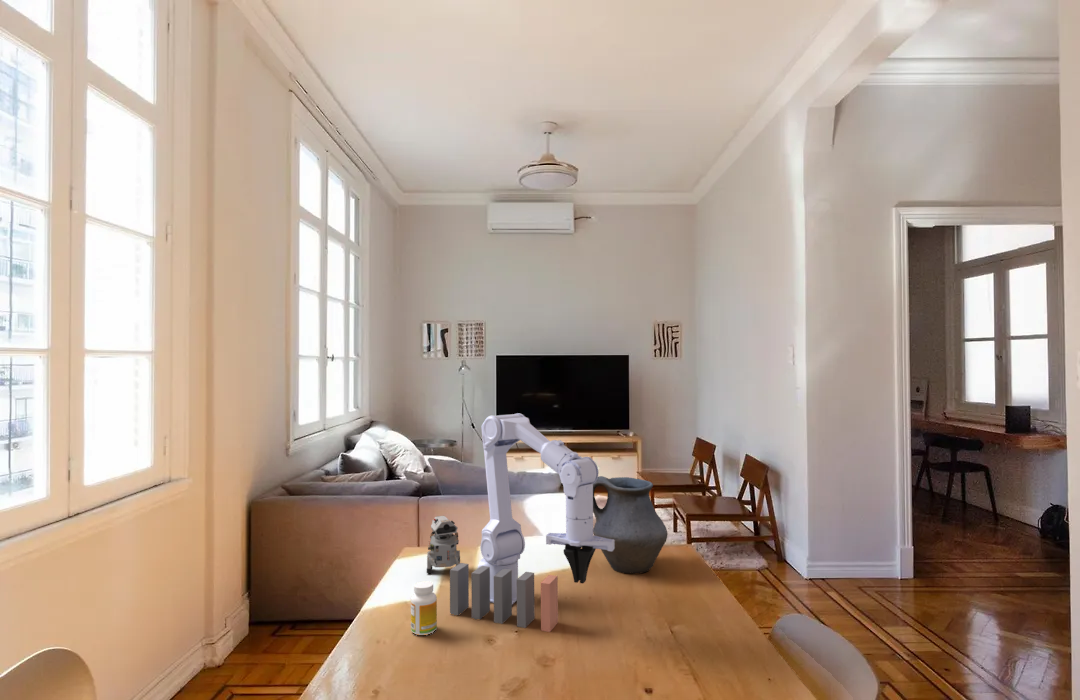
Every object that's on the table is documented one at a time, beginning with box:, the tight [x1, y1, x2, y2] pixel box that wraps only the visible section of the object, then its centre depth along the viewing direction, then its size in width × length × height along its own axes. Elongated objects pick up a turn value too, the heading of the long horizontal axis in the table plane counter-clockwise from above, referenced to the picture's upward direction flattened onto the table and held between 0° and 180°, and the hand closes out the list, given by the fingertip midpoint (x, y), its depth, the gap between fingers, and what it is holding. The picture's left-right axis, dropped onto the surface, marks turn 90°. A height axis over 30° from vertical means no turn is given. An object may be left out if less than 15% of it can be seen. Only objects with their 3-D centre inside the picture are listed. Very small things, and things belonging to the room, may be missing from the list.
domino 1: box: [449, 562, 470, 616], centre depth 135 cm, size 2×5×10 cm, turn 158°
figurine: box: [426, 515, 461, 574], centre depth 159 cm, size 9×12×15 cm
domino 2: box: [470, 566, 491, 620], centre depth 133 cm, size 2×5×10 cm, turn 158°
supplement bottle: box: [410, 580, 438, 635], centre depth 125 cm, size 5×5×10 cm
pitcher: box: [593, 475, 669, 574], centre depth 163 cm, size 21×22×25 cm
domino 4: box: [516, 571, 536, 629], centre depth 129 cm, size 2×5×10 cm, turn 158°
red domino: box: [540, 574, 559, 633], centre depth 127 cm, size 2×5×10 cm, turn 159°
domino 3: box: [493, 569, 513, 625], centre depth 131 cm, size 2×5×10 cm, turn 158°
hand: (580, 581), depth 124 cm, fingers closed
